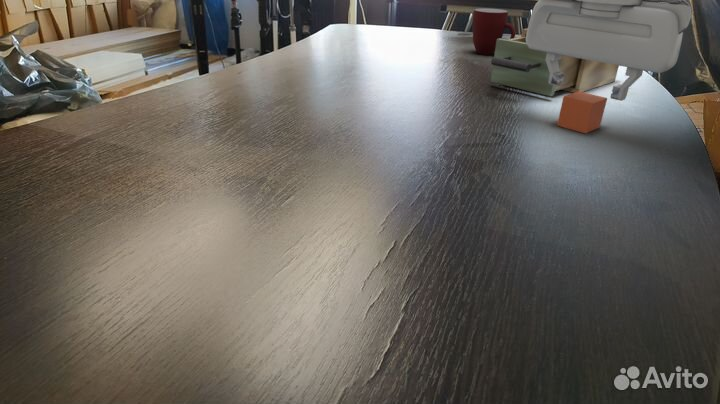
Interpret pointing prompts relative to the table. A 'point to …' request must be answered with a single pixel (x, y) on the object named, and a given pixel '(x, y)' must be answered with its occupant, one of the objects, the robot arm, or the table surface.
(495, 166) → the table surface
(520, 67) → the drawer
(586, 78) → the cabinet
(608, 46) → the robot arm
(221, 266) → the table surface
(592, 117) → the block
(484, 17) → the mug
